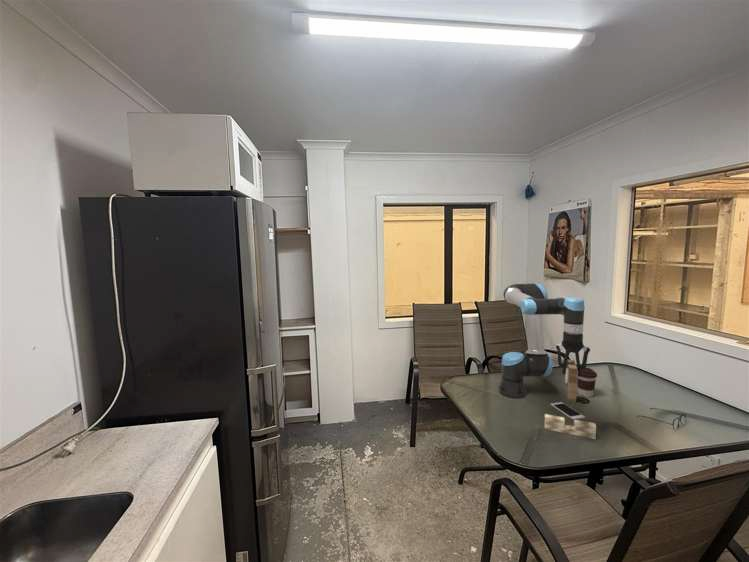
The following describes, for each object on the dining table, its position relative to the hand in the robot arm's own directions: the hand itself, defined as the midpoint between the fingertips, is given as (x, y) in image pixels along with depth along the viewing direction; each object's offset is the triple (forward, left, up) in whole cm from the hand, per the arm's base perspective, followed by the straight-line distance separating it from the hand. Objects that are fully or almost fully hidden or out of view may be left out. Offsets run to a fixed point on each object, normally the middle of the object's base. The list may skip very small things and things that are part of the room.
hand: (571, 381), depth 143 cm
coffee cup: (+12, +45, -25) cm, 53 cm away
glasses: (+41, +30, -25) cm, 57 cm away
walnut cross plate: (0, 0, -7) cm, 7 cm away
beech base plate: (0, 0, -24) cm, 24 cm away
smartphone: (+1, +21, -25) cm, 33 cm away
